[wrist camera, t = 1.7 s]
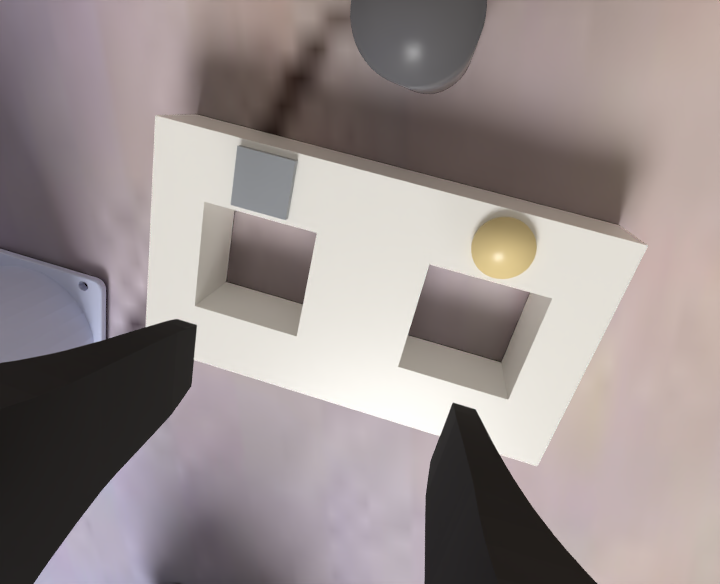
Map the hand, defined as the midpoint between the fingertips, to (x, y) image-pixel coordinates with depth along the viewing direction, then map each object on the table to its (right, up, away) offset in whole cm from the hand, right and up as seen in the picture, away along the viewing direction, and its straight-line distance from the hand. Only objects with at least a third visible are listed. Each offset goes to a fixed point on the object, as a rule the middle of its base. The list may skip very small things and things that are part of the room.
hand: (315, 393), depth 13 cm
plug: (+4, +12, +5) cm, 13 cm away
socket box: (+2, +3, +9) cm, 9 cm away
